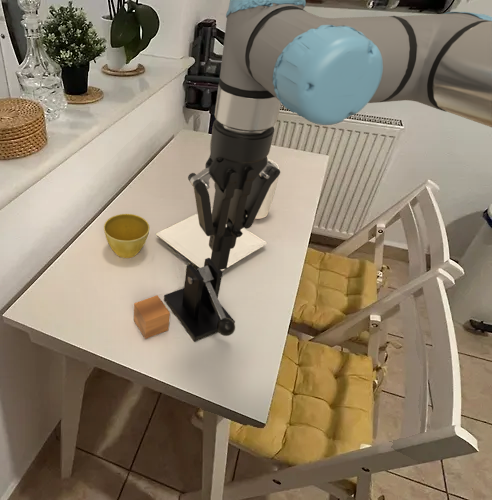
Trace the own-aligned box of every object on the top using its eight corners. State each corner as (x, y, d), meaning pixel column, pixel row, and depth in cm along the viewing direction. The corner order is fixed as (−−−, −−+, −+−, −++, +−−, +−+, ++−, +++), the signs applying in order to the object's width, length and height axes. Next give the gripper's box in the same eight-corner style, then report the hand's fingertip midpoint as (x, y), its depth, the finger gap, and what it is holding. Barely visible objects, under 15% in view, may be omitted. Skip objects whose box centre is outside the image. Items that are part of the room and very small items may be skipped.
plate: (154, 239, 103) (155, 232, 102) (209, 212, 112) (210, 206, 111) (210, 283, 92) (211, 276, 91) (266, 249, 101) (268, 242, 100)
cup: (234, 220, 109) (244, 171, 100) (236, 202, 116) (245, 155, 107) (268, 225, 108) (281, 176, 99) (268, 207, 114) (280, 159, 105)
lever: (233, 333, 78) (241, 330, 75) (218, 339, 77) (226, 336, 74) (204, 269, 81) (211, 263, 78) (190, 273, 80) (196, 268, 77)
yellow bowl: (156, 248, 100) (158, 223, 96) (132, 272, 94) (132, 247, 89) (122, 232, 105) (121, 208, 100) (96, 254, 98) (94, 230, 94)
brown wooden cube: (168, 330, 82) (170, 312, 79) (145, 339, 80) (145, 321, 77) (156, 312, 85) (157, 294, 82) (133, 320, 83) (133, 303, 80)
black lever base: (234, 325, 83) (244, 282, 75) (194, 342, 80) (201, 298, 72) (200, 286, 91) (207, 243, 84) (163, 299, 88) (166, 255, 80)
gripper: (274, 104, 57) (243, 242, 72) (183, 115, 54) (171, 256, 69) (307, 128, 52) (266, 271, 67) (208, 141, 48) (189, 288, 64)
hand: (218, 263), depth 68 cm, fingers closed
